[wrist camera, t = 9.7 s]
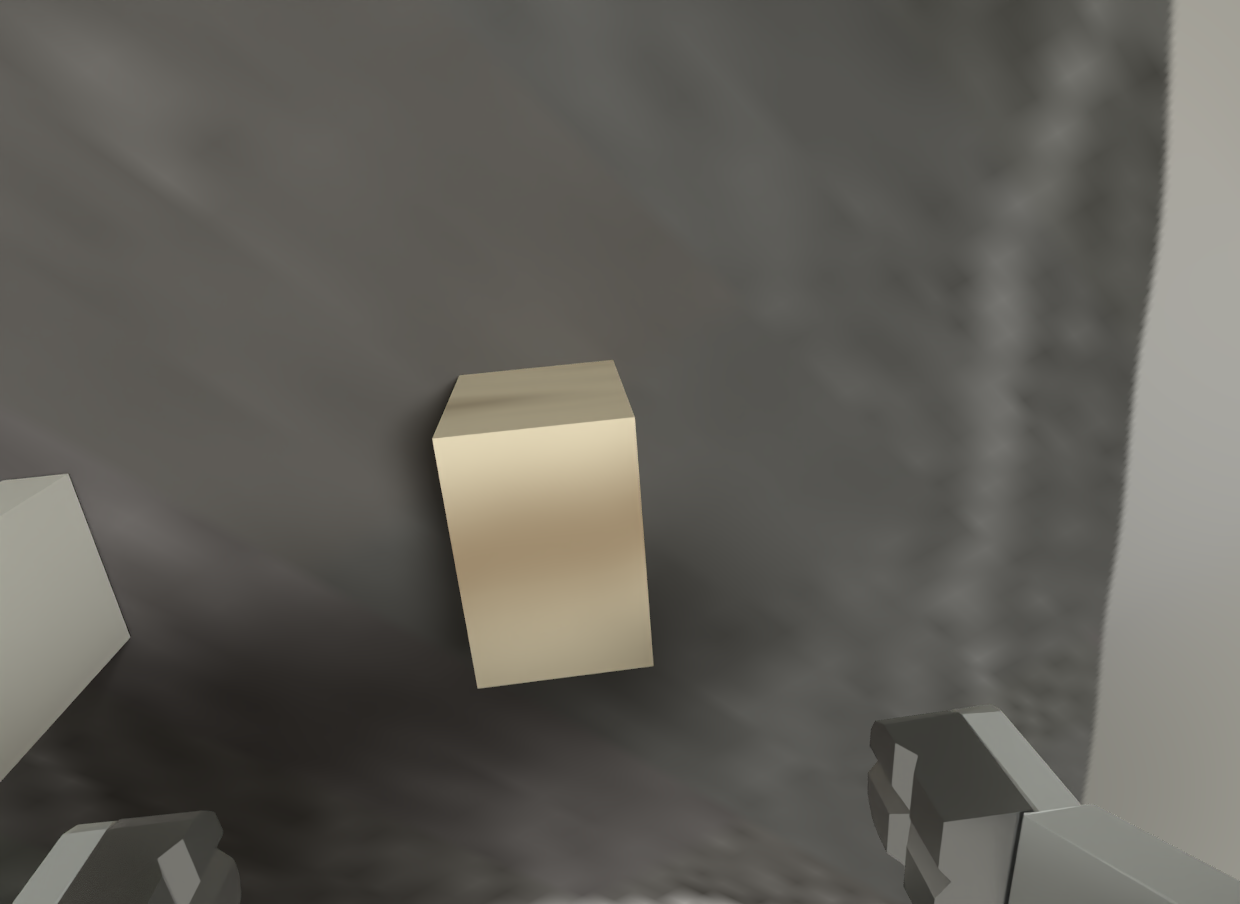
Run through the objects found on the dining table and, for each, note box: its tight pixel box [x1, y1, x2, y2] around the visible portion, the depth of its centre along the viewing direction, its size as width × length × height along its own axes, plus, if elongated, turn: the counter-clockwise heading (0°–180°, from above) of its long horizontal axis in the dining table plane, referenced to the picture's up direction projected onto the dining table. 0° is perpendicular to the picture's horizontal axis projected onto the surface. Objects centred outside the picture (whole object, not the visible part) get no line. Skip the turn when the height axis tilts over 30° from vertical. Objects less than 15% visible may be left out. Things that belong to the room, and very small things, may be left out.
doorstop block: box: [432, 360, 654, 689], centre depth 18 cm, size 6×4×5 cm, turn 5°
